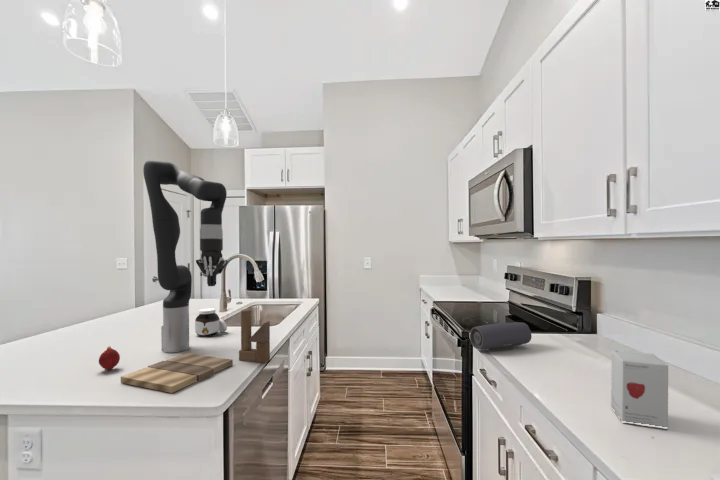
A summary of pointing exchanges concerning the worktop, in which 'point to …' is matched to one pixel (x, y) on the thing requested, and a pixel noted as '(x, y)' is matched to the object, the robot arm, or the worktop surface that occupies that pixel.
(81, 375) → the worktop surface
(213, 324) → the spread jar
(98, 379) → the worktop surface
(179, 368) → the mating board
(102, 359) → the onion
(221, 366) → the oak plank far
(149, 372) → the oak plank near
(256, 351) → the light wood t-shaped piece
